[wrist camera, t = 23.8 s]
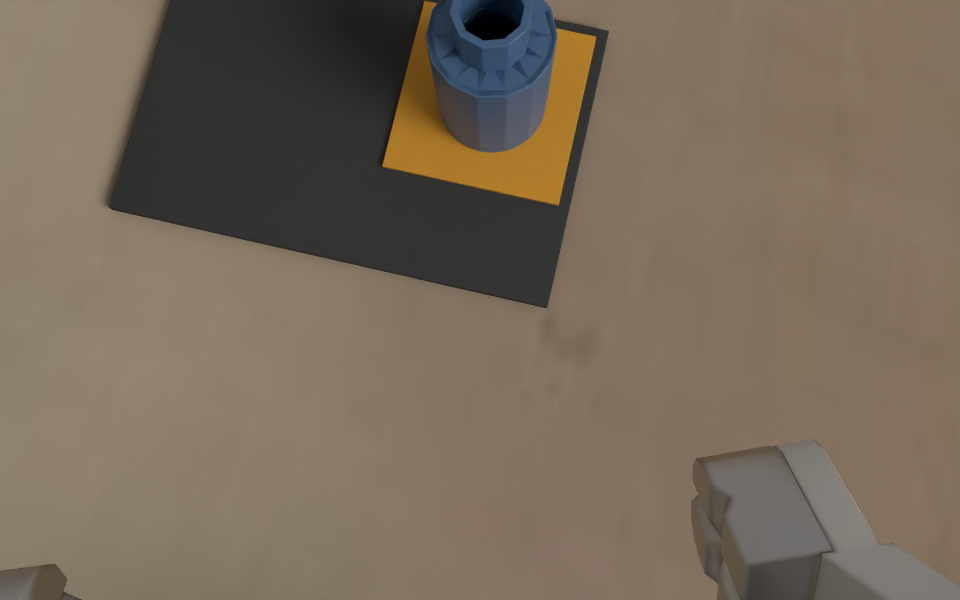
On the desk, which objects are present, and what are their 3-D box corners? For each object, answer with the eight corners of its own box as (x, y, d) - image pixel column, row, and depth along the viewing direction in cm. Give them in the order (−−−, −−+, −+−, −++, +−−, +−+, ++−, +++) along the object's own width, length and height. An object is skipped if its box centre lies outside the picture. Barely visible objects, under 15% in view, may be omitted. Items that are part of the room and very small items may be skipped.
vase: (427, 141, 37) (407, 60, 29) (452, 39, 38) (440, -69, 30) (532, 164, 37) (543, 89, 29) (556, 61, 38) (573, -41, 29)
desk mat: (112, 209, 38) (106, 206, 37) (191, -53, 40) (186, -60, 39) (546, 308, 37) (547, 306, 36) (607, 34, 39) (609, 28, 38)
